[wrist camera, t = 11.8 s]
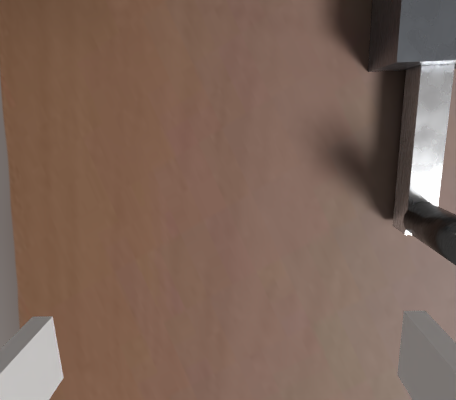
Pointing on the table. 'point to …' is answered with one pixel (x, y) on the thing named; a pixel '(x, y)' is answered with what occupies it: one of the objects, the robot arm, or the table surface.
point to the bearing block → (412, 34)
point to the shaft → (425, 159)
